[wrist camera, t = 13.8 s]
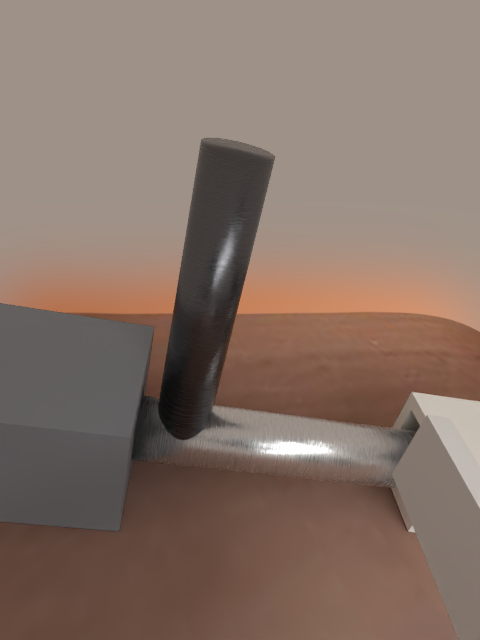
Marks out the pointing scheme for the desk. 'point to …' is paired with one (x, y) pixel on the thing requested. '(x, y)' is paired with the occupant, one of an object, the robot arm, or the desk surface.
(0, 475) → the socket block
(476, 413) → the elongated cream cuboid
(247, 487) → the desk surface
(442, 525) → the robot arm
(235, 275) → the slide bolt
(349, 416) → the desk surface
